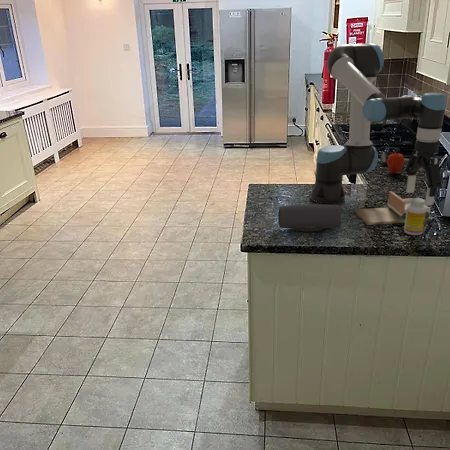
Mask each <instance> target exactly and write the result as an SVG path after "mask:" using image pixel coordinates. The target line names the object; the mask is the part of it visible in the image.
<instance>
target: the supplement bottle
mask: <svg viewBox="0 0 450 450" xmlns="http://www.w3.org/2000/svg"><path fill="white" fill-rule="evenodd" d="M411 198H412V197H411ZM425 200H426V199H423V198H420V197H413V198H412V199H411V205H409V206H408V207H407V212H406V218H405V223H404V227H403V231H404V232H405V233H406V234H407V235H412V236H420V235H422V234H423V232H424V228H425V227H424V226H425V222H426V221H425V216H426V208H425V207H424V205H425Z"/></svg>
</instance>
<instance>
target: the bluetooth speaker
mask: <svg viewBox="0 0 450 450" xmlns="http://www.w3.org/2000/svg"><path fill="white" fill-rule="evenodd" d="M277 219H278V226H279V228H280V229H293V230H295V231H296V232H319V231H320V232H321V231H323V229H333V228H340V227H341V225H342V208H341V206H340V205H337V204H289V205H288V204H287V205H279V206H278V215H277Z"/></svg>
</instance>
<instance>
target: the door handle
mask: <svg viewBox="0 0 450 450" xmlns="http://www.w3.org/2000/svg"><path fill="white" fill-rule="evenodd" d="M389 156H390V155H387V154H386V153H385V152H382V153H381V155H380V164H381V166H382V167H388V165H387V160H388V157H389ZM404 160H405V161H404V163H409V160H410V158H404Z"/></svg>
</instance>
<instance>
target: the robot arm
mask: <svg viewBox="0 0 450 450" xmlns="http://www.w3.org/2000/svg"><path fill="white" fill-rule="evenodd" d="M326 61H327V62H326V67H327V71H328V73H329V74H330V75H331V77H332V78H333V80H336V81H340V83H341V84H342V85H343V86H344V87H345V88H346V89H347V90H348V91H349V92H350V108H349V110H350V111H349V133H348V136H349V137H348V140H347V141H346V142H345V143H344V144H345V145H338V144H336V145H334V144H331V145H327V146H322V147H321V148H320V149H319V150H318V151H317V154H316V161H315V162H316V164H315V167H316V168H315V181H314V183H313V187H312V190H311V191H310V199H311V198H312V199H313V200H315V201H317V202H321V203H320V204H322V203H326V204H325V205H336V204H335V203H338V204H341V203H344V202H345V198H346V194H345V190H344V185H343V177H344V176H349V175H358V174H359V175H360V174H361V175H362V174H366V173H371V172H372V171H373V169H375V168H376V166H377V164H378V160H379V155H378V151H377V148H376V147H375V146H374V143H373V141H371V140H370V137H371V136H370V135H371V122H381V121H392V120H405V119H406V120H407V119H412V120H417V121H418V124H417V130H416V137H415V138H416V140H415V145H414V149H412V152H411V156H410V157H409V162H407V166H406V168H405V170H404V171H405V172H406V173H407V183H406V190H405V193H407V194H410V193H413V194H414V193H415V189H416V188H415V187H416V181H417V172H418V171H419V170H420V169H421V167H422V168H423V170H424V171H425V174H426V178H427V183H428V185H427V187H426V194H425V199H424V200H425V204H424V205H426V206H433V205H434V202H435V197H436V191H437V188H441V187H442V180H441V168H440V159H441V158H440V157H435V154H436V153H437V152H438V151H439V148H440V143H441V142H440V140H441V133H442V128H443V122H444V115H445V111H446V107H447V95H446V94H445V93H443V92H442V93H441V92H425V93H423V94H422V97H421V96H415V95H413V94H410V95H408V94H406V95H402V96H400V97H386V95H384V94H383V93H382V92H381V90H379V88H378V87H376V86H375V84H373V82H374V81H375V80H376V79H377V77H378V74H379V73H380V72H381V71H382V70H383V67H384V62H385V57H384V52H383V50H382V48H381V47H380V46H379V45H378V44H375V43H352V44H347V43H346V44H341V45H338V46H336V47H335V48H334V49H333V50H332V51H330V53H329V54H328V57H327V60H326ZM313 200H312V201H313ZM315 201H314V202H315ZM317 202H316V203H317Z"/></svg>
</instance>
